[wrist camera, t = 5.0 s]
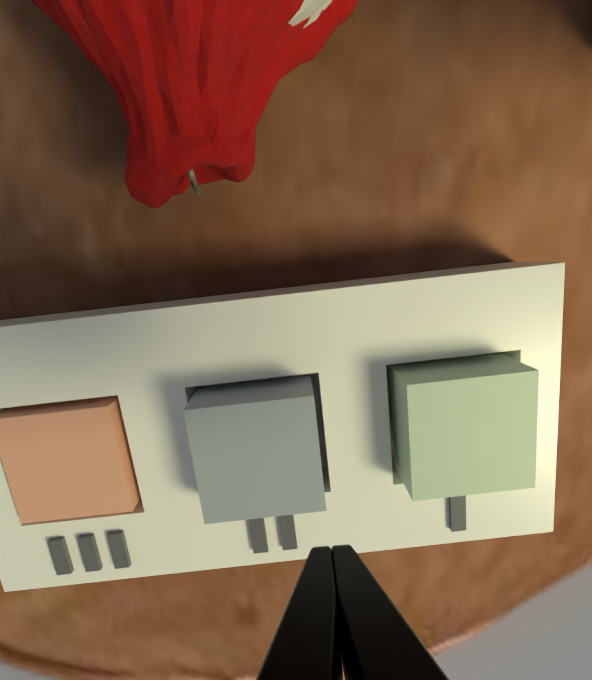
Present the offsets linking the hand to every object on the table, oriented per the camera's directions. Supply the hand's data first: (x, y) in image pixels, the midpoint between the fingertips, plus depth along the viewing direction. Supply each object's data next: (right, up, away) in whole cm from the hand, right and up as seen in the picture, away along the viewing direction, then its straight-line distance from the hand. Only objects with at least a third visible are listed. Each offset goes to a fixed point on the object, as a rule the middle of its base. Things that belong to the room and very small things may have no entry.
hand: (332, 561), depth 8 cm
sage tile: (+5, +2, +7) cm, 9 cm away
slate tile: (-2, +1, +7) cm, 7 cm away
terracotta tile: (-10, 0, +8) cm, 13 cm away
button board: (-2, +2, +9) cm, 10 cm away
